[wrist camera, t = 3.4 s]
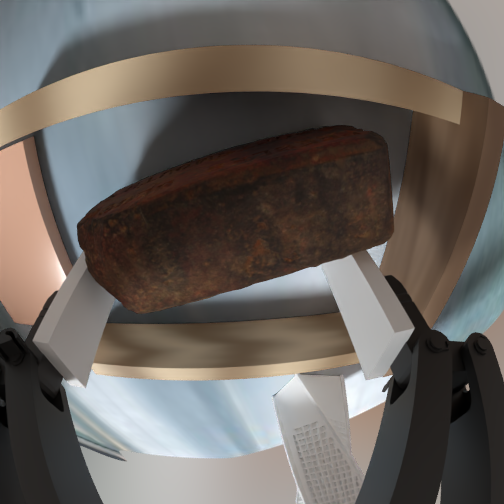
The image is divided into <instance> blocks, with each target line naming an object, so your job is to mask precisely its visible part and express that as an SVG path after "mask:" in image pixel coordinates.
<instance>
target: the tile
mask: <svg viewBox="0 0 504 504" xmlns="http://www.w3.org/2000/svg"><path fill="white" fill-rule="evenodd" d="M72 268H73V266H72V264H71V262H70V259H69V257H68V254H67V252H66V249H65V247H64V244H63V242H62V239H61V236H60V233H59V231H58V228H57V225H56V222H55V219H54V216H53V213H52V210H51V206H50V203H49V200H48V196H47V193H46V189H45V185H44V182H43V178H42V174H41V169H40V165H39V160H38V156H37V151H36V145H35V140H34V136H32V137H30V138H27V139H25V140H22V141H20V142H18V143H15V144H13V145H11V146H9V147H6V148H4V149H2V150H0V301H1V302H2V304H3V305H4V307H5V308H6V310H7V312H8V313H9V315H10V316H11V318H12V319H13V321H14V322H15V323H20V324H27V325H34V323H35V321H36V319H37V317H39V316H38V315H39V313H40V311H41V310H43V306H44V304H45V302H46V301H47V299H48V298H49V297H50V296H51V295H52V294H53V293H54V292H55V291H59V289H60V287H61V286H62V284H63V282H64V281H65V279H66V277H67V276H68V274H69V272H70V271H71V269H72Z"/></svg>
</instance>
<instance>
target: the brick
mask: <svg viewBox="0 0 504 504" xmlns="http://www.w3.org/2000/svg"><path fill="white" fill-rule="evenodd" d="M393 233H394V215H393V201H392V189H391V176H390V164H389V155H388V147H387V143H386V142H385V140H384V139H383V137H381V136H380V135H379V134H377V133H375V132H372V131H363V129H357V128H355V127H353V126H346V125H336V126H325V127H321V128H318V129H313V128H312V129H309V130H305V131H302V132H299V133H290V134H285V135H281V136H276V137H270V138H266V139H262V140H259V141H255V142H252V143H248V144H245V145H240V146H236V147H233V148H229V149H226V150H223V151H220V152H217V153H214V154H211V155H208V156H206V157H203V158H199V159H196V160H193V161H190V162H188V163H185V164H182V165H179V166H177V167H174V168H171V169H168V170H166V171H163V172H160V173H158V174H155V175H152V176H150V177H147V178H145V179H143V180H140V181H138V182H136V183H134V184H131V185H129V186H126V187H124V188H122V189H120V190H118V191H116V192H115V193H114V194H112V195H111V196H109V197H108V198H106V199H105V200H103V201H101V202H100V203H99V204H97V205H96V206H95V207H93V208H92V209H91V210H90V211H89V212H88V213H87V214H86V216H85V217H84V218H82V219H81V221H80V222H79V223H78V224H77V236H78V242H79V245H80V247H81V249H82V250H83V251H84V254H85V262H86V265H87V269H88V271H89V273H90V274H91V275H92V277H93V278H94V279H95V281H96V282H97V283H98V284H99V285H100V286H102V287H103V288H104V289H105V290H106V291H107V292H108V293H110V294H111V295H112V296H113V297H115V298H116V299H117V300H119V301H120V302H121V303H122V305H123V306H124V307H125V308H127V309H128V310H131V311H133V312H135V313H137V314H144V313H150V312H155V311H161V310H164V309H168V308H171V307H176V306H181V305H184V304H187V303H191V302H195V301H199V300H203V299H207V298H210V297H213V296H215V295H218V294H221V293H225V292H229V291H233V290H239V289H242V288H245V287H248V286H250V285H252V284H255V283H259V282H263V281H267V280H270V279H274V278H277V277H281V276H284V275H288V274H291V273H294V272H296V271H299V270H302V269H305V268H308V267H317V266H319V265H320V264H323V263H327V262H331V261H334V260H338V259H343V258H345V257H347V256H349V255H352V254H354V253H356V252H360V251H363V250H367V249H370V248H372V247H375V246H379V245H381V244H384V243H385V242H386V241H388V240H389V239H390V238H391V237H392V235H393Z"/></svg>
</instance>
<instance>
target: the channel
mask: <svg viewBox="0 0 504 504" xmlns="http://www.w3.org/2000/svg"><path fill="white" fill-rule="evenodd" d="M243 91H272V92H296V93H310V94H322V95H331V96H339V97H347V98H354V99H360V100H366V101H372V102H377V103H382V104H387V105H392V106H396V107H401V108H405V109H409V110H413V113H412V122H411V130H410V138H409V145H408V151H407V158H406V163H405V169H404V174H403V180H402V184H401V189H400V194H399V198H398V203H397V207H396V211H395V215H394V233H393V235H392V237H391V238H390V239H389V240H388V242H387V245H386V249H385V252H384V255H383V259H382V262H381V265H380V268H379V270H380V271H381V273H382V274H383V276H387V275H392V276H394V277H395V278H396V279H397V280H399V281H400V282H401V283H402V285H403V286H404V288H405V289H406V291H407V294H409V295H410V297H411V298H412V302H414V303H415V305H416V306H417V308H418V309H419V311H420V313H421V314H422V316H423V318H424V319H425V321H426V323H427V324H428V326H429V328H430V329H431V328H432V327H433V325H434V323H435V322H436V320H437V318H438V317H439V315H440V313H441V312H442V310H443V308H444V306H445V304H446V303H447V301H448V299H449V297H450V295H451V293H452V291H453V289H454V288H455V286H456V284H457V282H458V280H459V277H460V275H461V273H462V271H463V269H464V267H465V265H466V262H467V260H468V258H469V256H470V253H471V251H472V249H473V246H474V244H475V241H476V239H477V236H478V233H479V231H480V228H481V225H482V222H483V220H484V217H485V214H486V211H487V207H488V204H489V201H490V198H491V194H492V191H493V187H494V183H495V179H496V175H497V171H498V167H499V162H500V157H501V152H502V146H503V141H504V106H502V105H501V104H499V103H497V102H496V101H494V100H492V99H490V98H488V97H485V96H481V95H477V94H474V93H470V92H465V91H462V90H460V89H458V88H455V87H453V86H451V85H448V84H446V83H444V82H441V81H439V80H436V79H434V78H431V77H428V76H426V75H423V74H420V73H417V72H414V71H411V70H408V69H405V68H402V67H399V66H395V65H392V64H388V63H384V62H381V61H377V60H373V59H368V58H364V57H360V56H355V55H350V54H344V53H339V52H333V51H326V50H319V49H311V48H302V47H291V46H275V45H223V46H207V47H196V48H187V49H179V50H172V51H165V52H159V53H154V54H148V55H143V56H139V57H134V58H130V59H126V60H121V61H118V62H114V63H110V64H107V65H103V66H100V67H96V68H93V69H90V70H87V71H84V72H81V73H78V74H76V75H73V76H70V77H67V78H65V79H62V80H60V81H57V82H55V83H52V84H50V85H48V86H45V87H43V88H41V89H39V90H37V91H35V92H32V93H30V94H28V95H26V96H24V97H22V98H20V99H18V100H17V101H15V102H13V103H11V104H9V105H7V106H6V107H4V108H2V109H0V147H1V146H3V145H5V144H7V143H9V142H11V141H14V140H16V139H18V138H20V137H23V136H25V135H28V134H30V133H33V132H35V131H38V130H40V129H43V128H46V127H48V126H51V125H54V124H57V123H60V122H63V121H66V120H69V119H72V118H75V117H79V116H82V115H86V114H89V113H93V112H97V111H101V110H105V109H109V108H113V107H117V106H122V105H127V104H132V103H137V102H142V101H148V100H154V99H160V98H167V97H175V96H183V95H193V94H204V93H218V92H243ZM358 363H360V362H359V359H358V357H357V354H356V351H355V349H354V346H353V343H352V341H351V338H350V335H349V333H348V330H347V328H346V325H345V323H344V320H343V318H342V315H341V313H340V312H337V313H329V314H320V315H311V316H302V317H292V318H281V319H268V320H255V321H239V322H220V323H191V324H121V323H106V325H105V328H104V331H103V334H102V337H101V340H100V342H99V346H98V349H97V352H96V355H95V358H94V361H93V365H92V368H91V369H92V370H93V371H94V372H95V374H98V375H107V376H116V377H127V378H139V379H157V380H229V379H247V378H260V377H272V376H281V375H290V374H298V373H305V372H312V371H319V370H325V369H331V368H337V367H342V366H348V365H353V364H358ZM389 375H393V373H392V370H391V368H389V370H388V371H387V372H386V374H385V375H384V376H383V377H386V376H389Z"/></svg>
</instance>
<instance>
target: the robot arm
mask: <svg viewBox="0 0 504 504" xmlns="http://www.w3.org/2000/svg"><path fill="white" fill-rule="evenodd" d="M321 267H322V270H323V272H324V274H325V277H326V279H327V281H328V284H329V286H330V288H331V291H332V293H333V296H334V298H335V300H336V303H337V305H338V308H339V310H340V313H341V315H342V318H343V320H344V323H345V325H346V328H347V330H348V333H349V335H350V338H351V341H352V343H353V346H354V349H355V351H356V354H357V357H358V359H359V362H360V365H361V368H362V370H363V373H364V376H365V379H366V380H370V379H374V378H378V377H382V376H384V375H385V374H386V372H387V371H388V370H389V368H391V370H392V373H393V376H392V377H391V378H390V380H389V381H388V382H387V384H386V385H385V386H384V388H383V390H382V392H385V391H386V390H387V389H388V393H387V398H386V403H385V408H384V412H383V417H382V421H381V425H380V430H379V433H378V437H377V441H376V444H375V448H374V451H373V454H372V457H371V461H370V464H369V467H368V470H367V473H366V476H365V478H364V481H363V484H362V487H361V489H360V492H359V494H358V497H357V499H356V502H355V504H435V502H436V499H437V495H438V491H439V487H440V483H441V501H440V504H504V382H503V377H502V374H501V371H500V367H499V364H498V361H497V358H496V355H495V352H494V349H493V347H492V344H491V343H490V341H489V340H488V339H487V337H486V336H484V335H483V334H481V333H476V332H475V333H472V334H471V335H470V336H469V337H468V338H467V339H466V341H465V342H457V341H449V340H448V339H447V337H446V336H445V335H444V334H442V333H441V332H439V331H437V330H431V329H430V328H429V326H428V324H427V323H426V321H425V319H424V318H423V316H422V314H421V313H420V311H419V309H418V308H417V306H416V305H415V303H414V302H412V298H411V297H410V295H409V294H407V291H406V289H405V288H404V286H403V285H402V283H401V282H400V281H399V280H397V279H396V278H395V277H394V276H392V275H387V276H383V274H382V273H381V271H380V270H379V268H378V267H377V265H376V264H375V262H374V261H373V259H372V258H371V256H370V255H369V253H368V252H367V250H363V251H360V252H356V253H354V254H352V255H349V256H347V257H345V258H343V259H338V260H334V261H331V262H327V263H323V264H322V266H321ZM115 299H116V298H115V297H113V296H112V295H111V294H110V293H108V292H107V291H106V290H105V289H104V288H103V287H102V286H100V285H99V284H98V283H97V282H96V281H95V279H94V278H93V277H92V275H91V274H90V273H89V271H88V269H87V265H86V262H85V254H84V251H83V252H82V254H81V255H80V257H79V258H78V260H77V261H76V263H75V265H74V266H73V268H72V269H71V271H70V272H69V274H68V276H67V277H66V279H65V281H64V282H63V284H62V286H61V287H60V289H59V291H55V292H54V293H53V294H52V295H51V296H50V297H49V298H48V299H47V301H46V302H45V304H44V306H43V310H41V311H40V313H39V315H38V316H39V317H37V319H36V321H35V323H34V325H33V327H32V329H31V331H30V333H29V335H28V337H27V339H26V341H25V342H24V341H23V340H22V338H21V337H20V336H19V334H18V333H17V332H16V330H15V329H13V328H7V329H5V330H3V331H2V332H0V357H1V358H0V504H103V502H102V500H101V498H100V496H99V494H98V492H97V489H96V487H95V485H94V483H93V480H92V478H91V475H90V473H89V470H88V468H87V466H86V462H85V460H84V457H83V454H82V452H81V448H80V445H79V442H78V439H77V435H76V432H75V429H74V425H73V421H72V418H71V414H70V410H69V405H68V401H67V396H66V392H65V389H64V387H63V386H62V385H61V382H62V379H63V378H64V379H65V380H66V381H67V382H68V383H69V384H70V385H71V386H76V387H82V388H86V385H87V382H88V378H89V375H90V371H91V368H92V365H93V361H94V358H95V355H96V352H97V349H98V346H99V342H100V340H101V337H102V334H103V331H104V328H105V325H106V322H107V320H108V317H109V314H110V312H111V309H112V306H113V304H114V301H115ZM467 384H469V388H470V390H469V391H467V390H466V387H465V386H466V385H467ZM388 387H389V388H388Z"/></svg>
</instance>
